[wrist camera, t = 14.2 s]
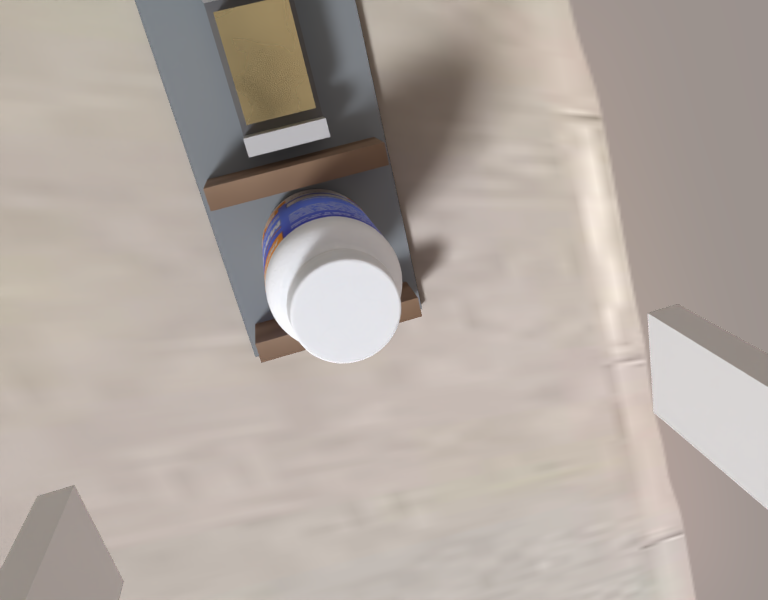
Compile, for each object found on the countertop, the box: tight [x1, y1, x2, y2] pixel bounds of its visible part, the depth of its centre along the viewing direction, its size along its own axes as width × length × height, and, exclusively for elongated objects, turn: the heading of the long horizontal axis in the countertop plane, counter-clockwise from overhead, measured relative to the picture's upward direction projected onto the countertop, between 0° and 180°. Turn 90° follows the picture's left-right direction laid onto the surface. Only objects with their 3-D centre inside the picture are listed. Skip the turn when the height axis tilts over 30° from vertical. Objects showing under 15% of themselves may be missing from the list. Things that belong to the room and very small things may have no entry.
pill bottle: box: [262, 189, 402, 363], centre depth 26 cm, size 5×5×10 cm
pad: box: [213, 0, 316, 125], centre depth 26 cm, size 4×3×1 cm
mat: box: [135, 0, 422, 357], centre depth 28 cm, size 26×9×1 cm, turn 13°
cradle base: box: [202, 0, 330, 157], centre depth 26 cm, size 7×4×2 cm, turn 13°
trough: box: [203, 137, 422, 363], centre depth 29 cm, size 8×8×2 cm
